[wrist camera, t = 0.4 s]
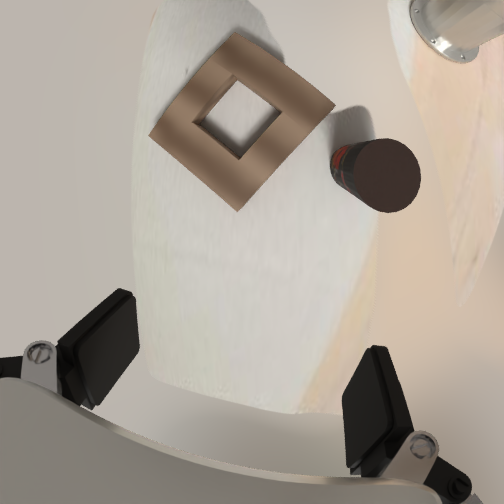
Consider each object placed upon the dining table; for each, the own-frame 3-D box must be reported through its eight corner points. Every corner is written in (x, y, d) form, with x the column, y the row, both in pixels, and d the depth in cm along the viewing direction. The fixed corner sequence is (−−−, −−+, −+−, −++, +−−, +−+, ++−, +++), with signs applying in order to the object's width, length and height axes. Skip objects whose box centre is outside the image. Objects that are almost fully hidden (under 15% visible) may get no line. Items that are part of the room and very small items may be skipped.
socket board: (239, 40, 29) (234, 32, 26) (332, 109, 31) (335, 105, 28) (158, 136, 35) (148, 135, 33) (242, 207, 37) (237, 212, 34)
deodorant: (344, 198, 34) (374, 225, 20) (321, 158, 33) (339, 159, 19) (381, 177, 33) (431, 192, 19) (359, 137, 31) (399, 126, 17)
